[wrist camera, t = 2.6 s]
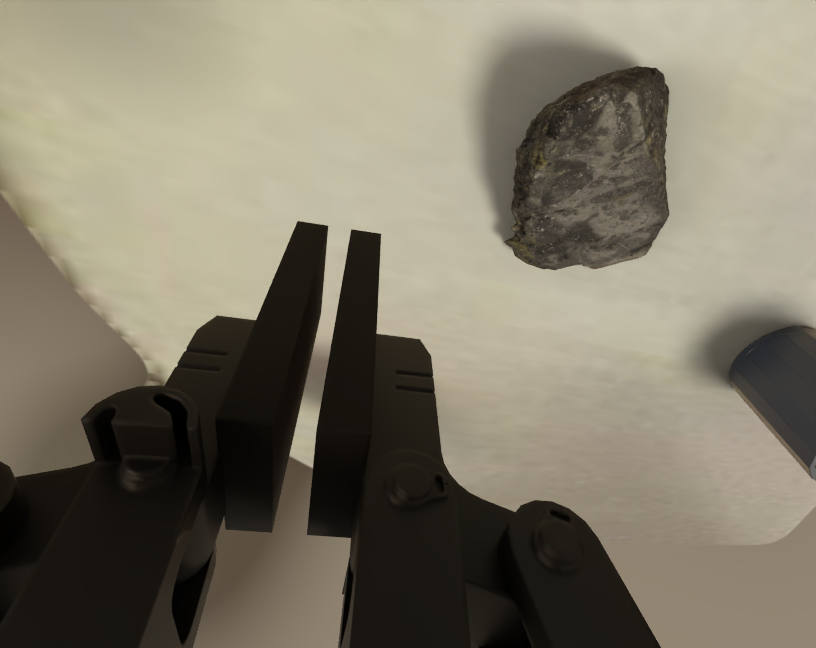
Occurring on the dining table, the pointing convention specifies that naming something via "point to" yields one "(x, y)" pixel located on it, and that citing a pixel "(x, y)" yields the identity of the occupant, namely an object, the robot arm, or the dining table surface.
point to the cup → (782, 388)
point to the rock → (593, 174)
